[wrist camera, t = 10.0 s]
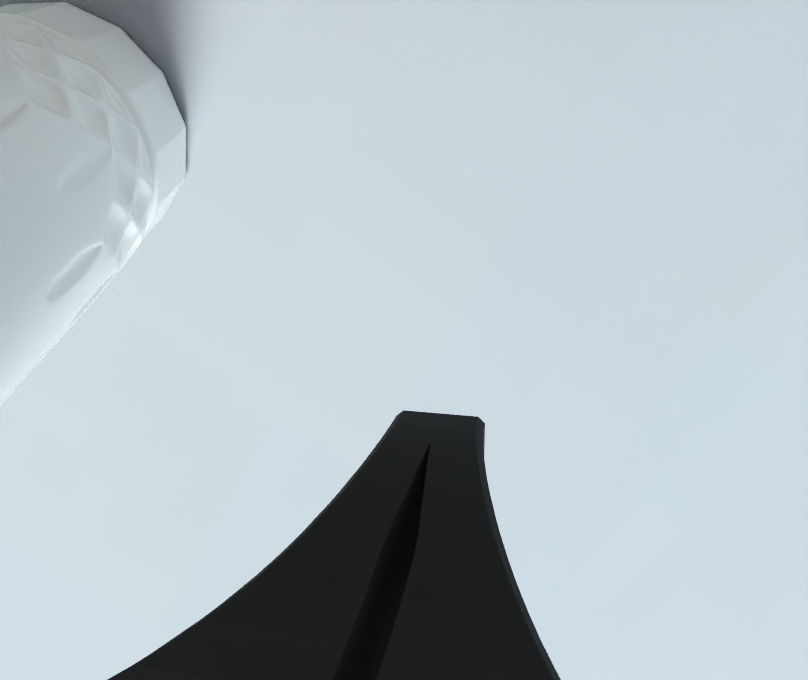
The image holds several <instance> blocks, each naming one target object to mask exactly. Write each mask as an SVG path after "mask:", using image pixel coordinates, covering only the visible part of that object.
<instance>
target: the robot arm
mask: <svg viewBox="0 0 808 680" xmlns="http://www.w3.org/2000/svg"><path fill="white" fill-rule="evenodd" d="M484 434H485V423H484V422H483V421H482V420H481V419H480V418H479V417H473V416H462V415H450V414H438V413H426V412H415V411H402V412H401V413H400V414H398V415H397V416H396V418H395V419H394V421H393V422H392V424H391V425H390V427H389V428H388V430H387V431H386V433H385V434H384V436H383V437H382V438H381V440H380V441H379V443H378V444H377V445H376V447H375V448H374V449H373V451H372V452H371V453H370V455H369V456H368V457H367V459H366V460H365V461H364V463H363V464H362V465H361V466H360V468H359V469H358V470H357V471H356V472H355V474H354V475H353V476H352V477H351V478H350V480H349V481H348V482H347V483H346V485H345V486H344V487H343V488H342V489H341V491H340V492H339V493H338V494H337V495H336V496H335V498H334V499H333V500H332V501H331V502H330V503H329V504H328V505H327V506H326V508H325V509H324V510H323V511H322V512H321V513H320V514H319V515H318V516H317V517H316V518H315V519H314V520H313V521H312V523H311V524H310V525H309V526H308V527H307V528H306V529H305V530H304V531H303V532H302V533H301V534H300V535H299V536H298V537H297V538H296V539H295V540H294V541H293V542H292V543H291V544H290V545H289V546H288V547H287V548H286V549H285V550H284V551H283V552H282V553H281V554H280V555H279V556H278V557H276V558H275V559H274V560H273V561H272V562H271V563H270V564H269V565H268V566H266V567H265V568H264V569H263V570H262V571H261V572H260V573H259V574H257V575H256V576H255V577H254V578H253V579H251V580H250V581H249V582H248V583H247V584H245V585H244V586H243V587H242V588H240V589H239V590H238V591H237V592H236V593H234V594H233V595H232V596H231V597H229V598H228V599H227V600H226V601H225V602H223V603H222V604H221V605H219V606H218V607H217V608H216V609H214V610H213V611H212V612H210V613H209V614H208V615H206V616H205V617H204V618H202V619H201V620H199V621H198V622H197V623H195V624H194V625H192V626H191V627H189V628H188V629H186V630H185V631H183V632H182V633H180V634H179V635H178V636H176V637H175V638H173V639H172V640H170V641H169V642H167V643H166V644H164V645H163V646H162V647H160V648H159V649H157V650H156V651H154V652H153V653H151V654H150V655H148V656H147V657H145V658H143V659H142V660H140V661H139V662H137V663H136V664H134V665H132V666H131V667H129V668H127V669H125V670H124V671H122V672H120V673H118V674H117V675H115V676H113V677H111V678H110V679H108V680H560V678H559V676H558V674H557V672H556V670H555V668H554V666H553V664H552V662H551V660H550V658H549V656H548V654H547V652H546V650H545V648H544V646H543V644H542V642H541V640H540V638H539V636H538V633H537V631H536V629H535V627H534V624H533V622H532V620H531V618H530V615H529V613H528V611H527V608H526V606H525V603H524V601H523V598H522V596H521V593H520V591H519V588H518V586H517V583H516V580H515V578H514V575H513V572H512V569H511V566H510V564H509V561H508V558H507V554H506V551H505V548H504V545H503V542H502V539H501V535H500V532H499V528H498V525H497V521H496V517H495V513H494V509H493V505H492V501H491V496H490V492H489V487H488V482H487V477H486V470H485V462H484Z"/></svg>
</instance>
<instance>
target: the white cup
mask: <svg viewBox="0 0 808 680" xmlns="http://www.w3.org/2000/svg"><path fill="white" fill-rule="evenodd" d="M185 178H186V125H185V123H184V121H183V118H182V116H181V114H180V111H179V109H178V107H177V104H176V102H175V100H174V97H173V95H172V92H171V90H170V88H169V85H168V83H167V81H166V78H165V76H164V74H163V72H162V71H161V70H160V69H159V68H158V67H157V66H156V65H155V64H154V63H153V62H152V61H151V60H150V59H149V58H148V57H147V55H146V54H145V53H144V52H143V51H142V50H141V49H140V48H139V47H138V46H137V45H136V44H135V43H134V42H133V41H132V40H131V39H130V38H129V36H128V35H127V34H126V33H125V32H124V31H123V30H122V29H121V28H119V27H118V26H116V25H113V24H111V23H109V22H107V21H105V20H103V19H101V18H99V17H96V16H94V15H92V14H90V13H88V12H86V11H84V10H82V9H80V8H77V7H75V6H73V5H71V4H69V3H66V2H51V3H15V4H9V5H4V6H0V406H1V405H2V404H3V403H4V402H5V400H6V399H7V398H8V397H9V396H10V395H11V394H12V393H13V391H14V390H15V389H16V388H17V387H18V386H19V385H20V383H21V382H22V381H23V380H24V379H25V378H26V377H27V376H28V374H29V373H30V372H31V371H32V370H33V369H34V368H35V367H36V366H37V364H38V363H39V362H40V361H41V360H42V359H43V358H44V357H45V356H46V354H47V353H48V352H49V351H50V350H51V349H52V348H53V347H54V346H55V344H56V343H57V342H58V341H59V340H60V339H61V338H62V337H63V336H64V334H65V333H66V332H67V331H68V330H69V329H70V328H71V327H72V326H73V324H74V323H75V322H76V321H77V320H78V319H79V318H80V317H81V315H82V314H83V313H84V312H85V311H86V310H87V309H88V308H89V307H90V305H91V304H92V303H93V302H94V301H95V300H96V298H97V297H98V296H99V295H100V294H101V293H102V291H103V290H104V289H105V288H106V286H107V285H108V284H109V282H110V281H111V280H112V278H113V277H114V276H115V275H116V274H117V273H118V271H119V270H120V269H121V268H122V267H123V266H124V264H125V263H126V262H127V261H128V260H129V258H130V257H131V256H132V255H133V253H134V252H135V251H136V249H137V248H138V246H139V245H140V244H141V242H142V240H143V238H144V237H145V236H146V235H147V233H148V232H149V231H150V230H151V229H152V228H153V227H154V226H155V225H156V224H157V223H158V222H159V221H160V219H161V218H162V217H163V216H164V215H165V213H166V211H167V210H168V208H169V206H170V204H171V203H172V201H173V199H174V197H175V196H176V194H177V192H178V190H179V189H180V187H181V185H182V183H183V181H184V180H185Z"/></svg>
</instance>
